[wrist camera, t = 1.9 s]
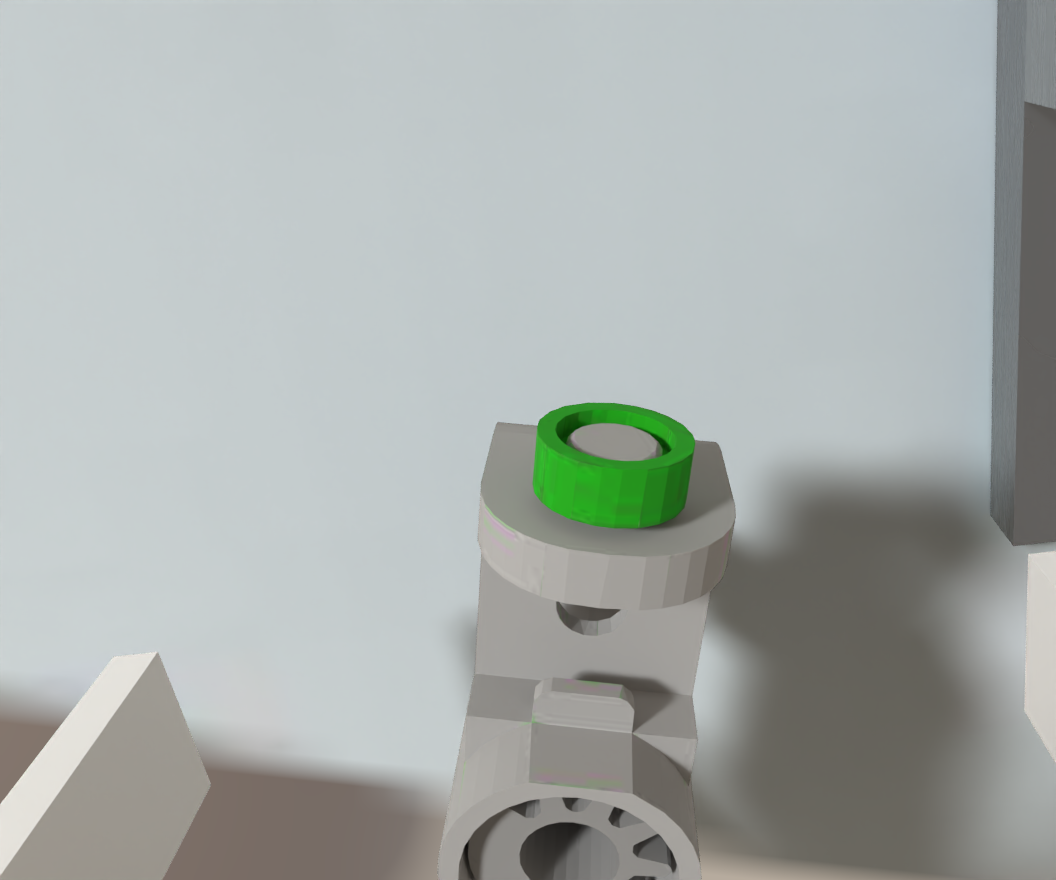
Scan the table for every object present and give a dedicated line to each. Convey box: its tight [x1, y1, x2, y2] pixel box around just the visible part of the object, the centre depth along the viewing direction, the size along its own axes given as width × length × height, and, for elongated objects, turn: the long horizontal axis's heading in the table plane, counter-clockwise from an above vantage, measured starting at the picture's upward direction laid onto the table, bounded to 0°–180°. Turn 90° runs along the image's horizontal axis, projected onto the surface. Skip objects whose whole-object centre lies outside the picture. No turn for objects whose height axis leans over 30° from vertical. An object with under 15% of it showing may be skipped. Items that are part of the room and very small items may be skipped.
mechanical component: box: [438, 403, 736, 880], centre depth 15 cm, size 3×10×10 cm, turn 176°
